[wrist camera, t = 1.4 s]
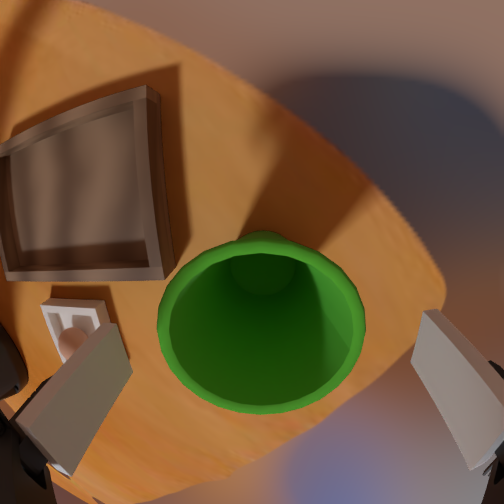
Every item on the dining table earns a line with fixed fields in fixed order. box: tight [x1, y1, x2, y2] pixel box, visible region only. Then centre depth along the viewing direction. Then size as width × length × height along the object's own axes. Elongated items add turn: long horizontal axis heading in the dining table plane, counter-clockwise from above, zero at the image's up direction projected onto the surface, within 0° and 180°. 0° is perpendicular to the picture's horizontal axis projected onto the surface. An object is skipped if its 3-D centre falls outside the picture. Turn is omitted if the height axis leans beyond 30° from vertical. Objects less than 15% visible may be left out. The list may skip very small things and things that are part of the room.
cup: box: [157, 231, 366, 415], centre depth 16 cm, size 9×9×11 cm
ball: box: [58, 327, 88, 360], centre depth 22 cm, size 4×4×4 cm
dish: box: [40, 298, 111, 364], centre depth 24 cm, size 8×8×2 cm
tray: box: [0, 85, 176, 282], centre depth 19 cm, size 20×14×3 cm
